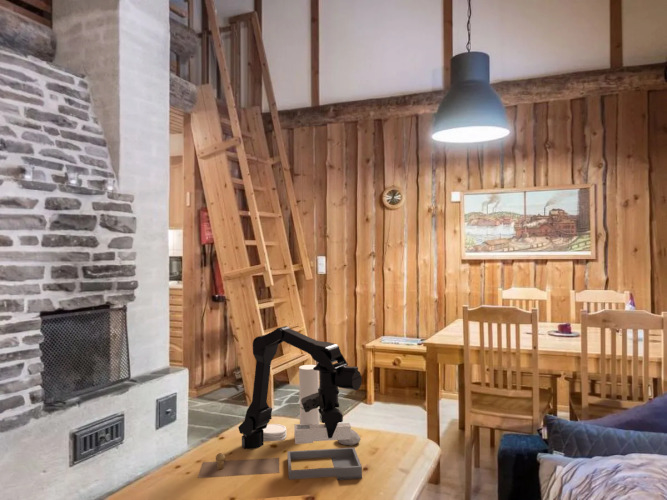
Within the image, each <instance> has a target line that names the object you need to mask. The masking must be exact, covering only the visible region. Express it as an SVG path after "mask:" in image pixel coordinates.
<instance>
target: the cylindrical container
mask: <svg viewBox="0 0 667 500" xmlns="http://www.w3.org/2000/svg"><path fill="white" fill-rule="evenodd" d="M316 365H317V364H304V365H300V366H299V367H298V379H299V380H298V381H299V385H298V387H299V388H298V389H299V391H298V393H299V424H311V423H312V425H318V424H321V422H320V413H319V411H318V409H320V408H319V407H317V408H315V409H312V410H310V411H309V412H305V410H304V408H303V405H302V402H301V399H302V398H304V397H307V396H309V395H312V394H315V393H318V388H319V387H320V379H319V371H317V370H313V368H314V367H315V366H316Z"/></svg>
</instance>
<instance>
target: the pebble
mask: <svg viewBox="0 0 667 500" xmlns="http://www.w3.org/2000/svg"><path fill="white" fill-rule="evenodd" d="M337 441H338V443H339V444H341V445H345V446H349V447H351V446H355V445H357V444H358V443H360V441H361V436H360V435H359V433H358V432H357V431H355V430H354V429H352V428H351V439H346V440H337Z"/></svg>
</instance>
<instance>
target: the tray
mask: <svg viewBox="0 0 667 500" xmlns="http://www.w3.org/2000/svg"><path fill="white" fill-rule="evenodd" d="M286 453H287V454H286V455H287V468H288V469H287V471H288V480H299V479H301V480H304V479H316V478H331V477H336V480H337V481H347V480H359V479H361V480H362V479H363V467H362V463H361V461H360V458H359V456H358V453H357V451H356V449H355V447H341V448H325V449H324V448H323V449H311V450H310V449H308V450H306V449H304V450H290V451H289V450H288V451H287V452H286ZM322 458H323V459H325V458H331V463H332V466H333V467H322V468H321V467H319V468H305V469H292V460H306V459H322Z"/></svg>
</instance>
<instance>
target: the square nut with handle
mask: <svg viewBox="0 0 667 500" xmlns="http://www.w3.org/2000/svg"><path fill="white" fill-rule="evenodd" d="M293 425H294V428H293V430H294V444H295V445H298V444H301V445H302V444H314V442H324V441H326V442H327V441H338V440H346V439H351V429H352V426H351V424H350V422H339V423H338V425H337V427H336V429H335V432H334V434H333V436H332V438H328V434H327V429H326V424H325V423H322V424H321V423H320V424H318V425H312V423H311V424H300V423H296V424H293Z"/></svg>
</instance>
